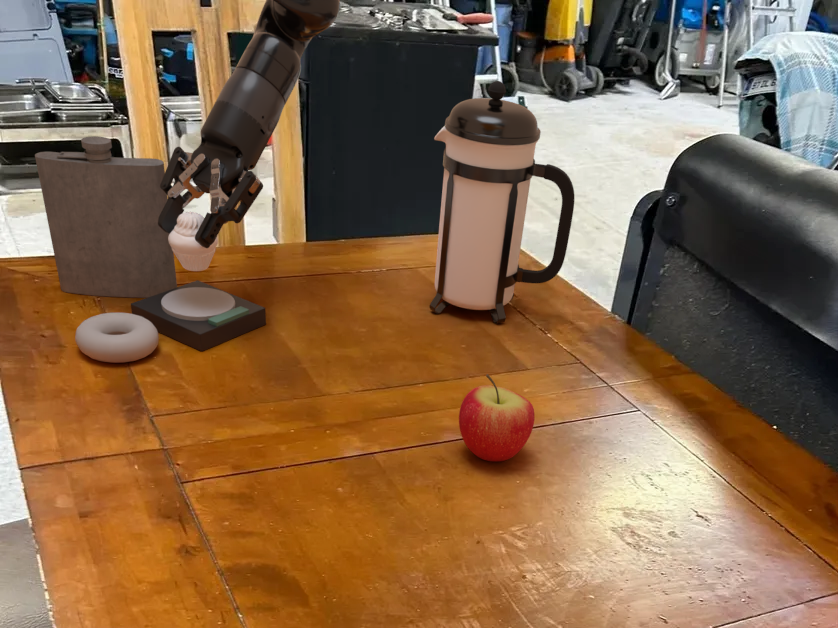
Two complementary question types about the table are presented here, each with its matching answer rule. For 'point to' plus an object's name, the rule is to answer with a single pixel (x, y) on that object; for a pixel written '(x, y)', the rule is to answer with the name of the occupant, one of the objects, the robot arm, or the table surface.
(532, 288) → the table surface
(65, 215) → the hip flask
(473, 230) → the coffee press
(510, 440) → the apple
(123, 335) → the donut
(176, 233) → the muffin
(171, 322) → the scale
